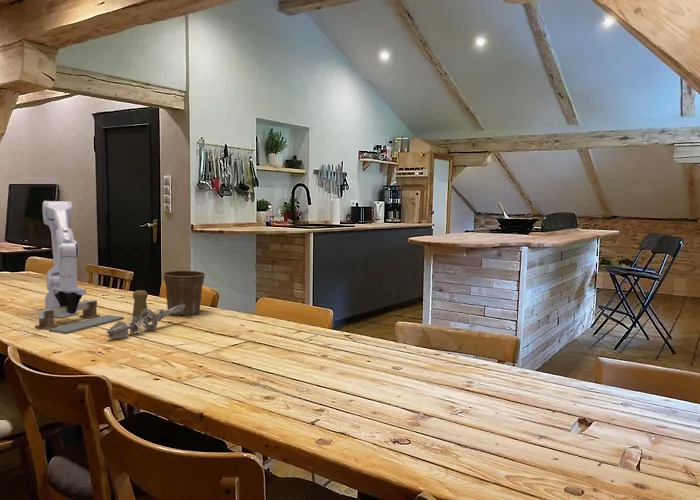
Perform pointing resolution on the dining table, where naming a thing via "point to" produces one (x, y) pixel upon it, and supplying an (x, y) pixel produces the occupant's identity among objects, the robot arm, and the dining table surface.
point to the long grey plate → (85, 324)
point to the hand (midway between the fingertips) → (68, 313)
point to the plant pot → (184, 290)
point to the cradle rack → (49, 323)
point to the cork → (139, 302)
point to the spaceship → (141, 322)
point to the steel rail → (64, 309)
